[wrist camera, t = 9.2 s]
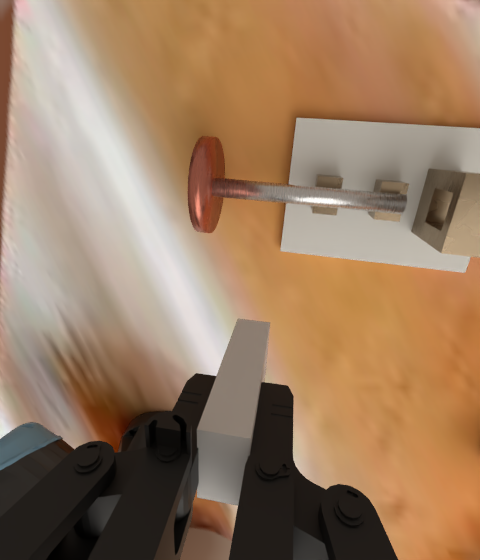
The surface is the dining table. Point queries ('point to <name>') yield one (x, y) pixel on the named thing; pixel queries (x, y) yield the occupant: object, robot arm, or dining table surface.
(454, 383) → the dining table surface
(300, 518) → the robot arm
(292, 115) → the dining table surface
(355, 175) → the base board
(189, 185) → the disc-ended rod
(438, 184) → the eye bracket
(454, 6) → the dining table surface
